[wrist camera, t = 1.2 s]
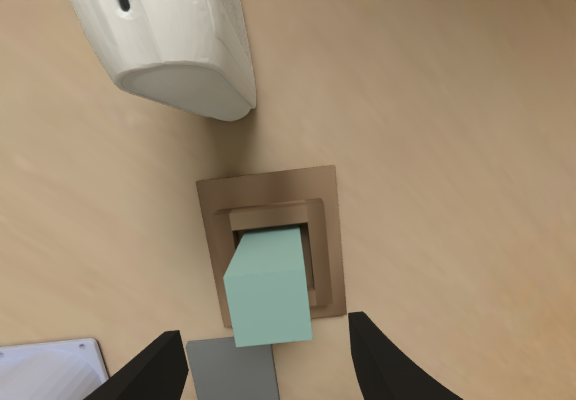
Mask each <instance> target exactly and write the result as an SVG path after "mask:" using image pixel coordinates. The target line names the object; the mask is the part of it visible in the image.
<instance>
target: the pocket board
mask: <svg viewBox="0 0 576 400" xmlns="http://www.w3.org/2000/svg"><path fill="white" fill-rule="evenodd" d="M196 186H197V191H198V196H199V201H200V206H201V212H202V217H203V222H204V227H205V232H206V237H207V242H208V247H209V252H210V257H211V263H212V268H213V273H214V278H215V283H216V288H217V293H218V298H219V303H220V309H221V314H222V319H223V324H224V327H230V326H232V322H231V317H230V312H229V306H228V301H227V296H226V290H225V285H224V280H223V277H224V275H225V273H226V271H227V268H228V266H229V264H230V262H231V260H232V258H233V256H234V254H235V252H236V249H237V247H238V245H239V243H240V241H241V239H242V237H243V235H244V233H245V231H246V230H252V229H261V228H270V227H278V226H287V225H296V224H299V228H300V236H301V243H302V251H303V259H304V266H305V275H306V283H307V292H308V301H309V310H310V318H317V317H327V316H337V315H346V314H347V311H346V298H345V285H344V272H343V259H342V247H341V234H340V221H339V208H338V195H337V183H336V170H335V165H329V166H320V167H312V168H303V169H295V170H286V171H278V172H269V173H261V174H252V175H244V176H235V177H227V178H218V179H210V180H201V181H197V182H196Z"/></svg>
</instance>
